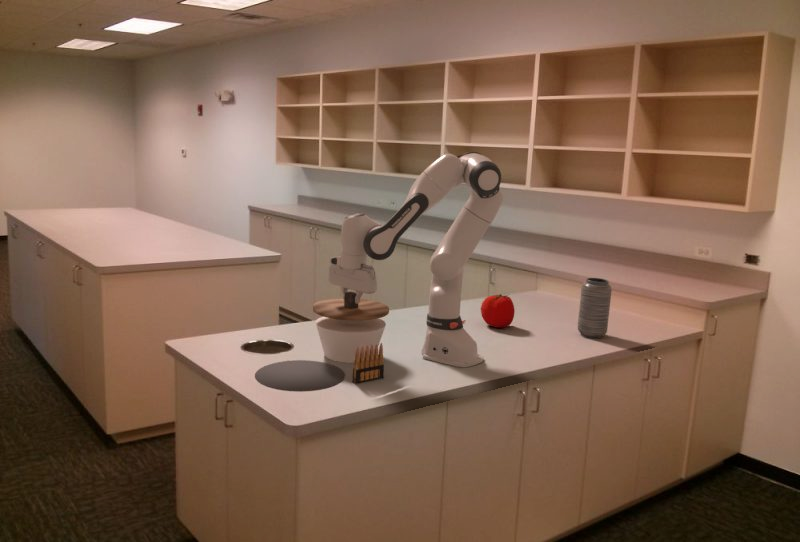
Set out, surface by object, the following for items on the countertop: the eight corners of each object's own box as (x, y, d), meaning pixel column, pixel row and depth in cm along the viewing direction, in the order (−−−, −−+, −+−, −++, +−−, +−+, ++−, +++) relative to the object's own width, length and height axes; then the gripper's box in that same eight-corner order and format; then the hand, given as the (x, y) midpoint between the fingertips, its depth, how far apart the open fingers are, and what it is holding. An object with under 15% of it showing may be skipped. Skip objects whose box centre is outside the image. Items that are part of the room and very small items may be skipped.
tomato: (520, 330, 280) (522, 297, 277) (490, 332, 275) (492, 299, 272) (500, 320, 294) (503, 289, 291) (472, 321, 289) (474, 290, 286)
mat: (363, 378, 216) (363, 376, 216) (293, 400, 195) (293, 398, 195) (305, 356, 234) (306, 354, 234) (236, 374, 214) (236, 372, 213)
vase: (581, 329, 285) (587, 275, 281) (609, 334, 280) (615, 279, 275) (573, 335, 275) (578, 280, 271) (602, 341, 270) (608, 284, 265)
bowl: (309, 347, 244) (309, 314, 242) (374, 344, 252) (375, 312, 249) (322, 369, 222) (323, 334, 220) (392, 365, 229) (394, 331, 227)
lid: (404, 312, 235) (405, 295, 234) (349, 325, 216) (350, 306, 215) (352, 297, 252) (352, 281, 250) (296, 307, 233) (297, 290, 231)
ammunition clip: (380, 378, 217) (382, 341, 215) (383, 380, 215) (385, 343, 213) (352, 384, 211) (353, 346, 208) (355, 386, 209) (356, 348, 207)
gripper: (381, 265, 226) (379, 306, 229) (339, 256, 239) (338, 294, 242) (368, 267, 221) (366, 309, 224) (326, 257, 235) (324, 297, 237)
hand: (351, 301), depth 233 cm, fingers closed on lid, 3 cm apart
